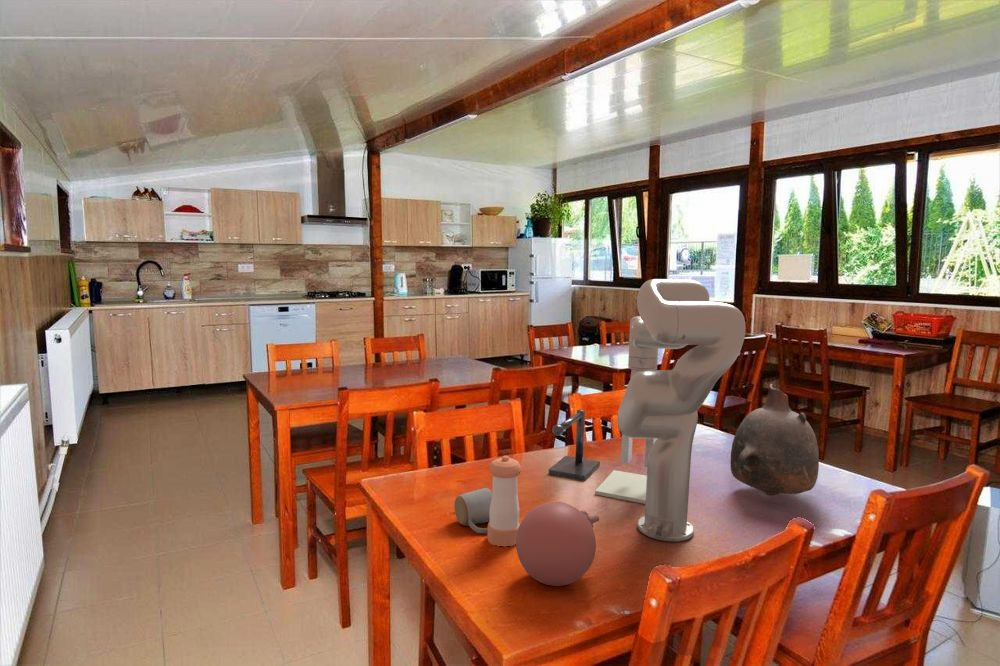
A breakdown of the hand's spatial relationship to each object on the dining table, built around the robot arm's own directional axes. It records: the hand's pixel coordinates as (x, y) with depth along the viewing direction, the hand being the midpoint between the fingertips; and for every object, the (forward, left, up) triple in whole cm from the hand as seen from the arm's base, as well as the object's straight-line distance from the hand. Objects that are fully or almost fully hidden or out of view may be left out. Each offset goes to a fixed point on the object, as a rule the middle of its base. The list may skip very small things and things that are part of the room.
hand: (639, 428), depth 166 cm
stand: (+1, +20, -17) cm, 26 cm away
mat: (0, 0, -17) cm, 17 cm away
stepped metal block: (0, 0, -9) cm, 9 cm away
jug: (+13, -33, -17) cm, 39 cm away
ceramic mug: (-40, +28, -17) cm, 52 cm away
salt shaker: (-44, +19, -17) cm, 51 cm away
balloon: (-53, +2, -17) cm, 56 cm away
